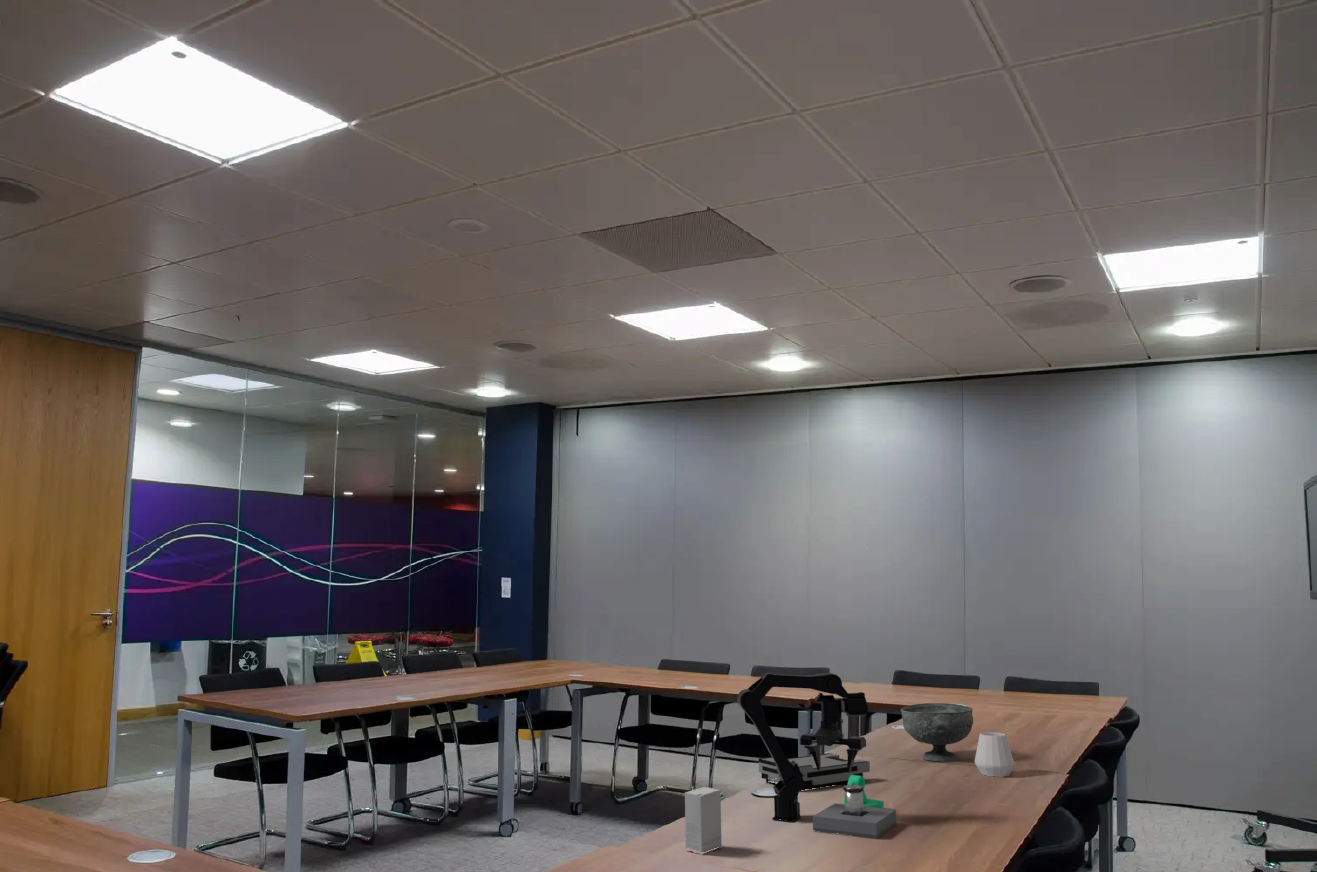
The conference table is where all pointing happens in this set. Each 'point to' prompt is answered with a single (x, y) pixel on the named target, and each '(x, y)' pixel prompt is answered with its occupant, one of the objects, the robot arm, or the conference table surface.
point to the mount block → (855, 821)
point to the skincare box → (703, 819)
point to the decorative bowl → (938, 726)
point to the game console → (828, 775)
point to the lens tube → (853, 800)
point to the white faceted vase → (994, 755)
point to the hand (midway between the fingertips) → (833, 771)
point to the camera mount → (866, 802)
